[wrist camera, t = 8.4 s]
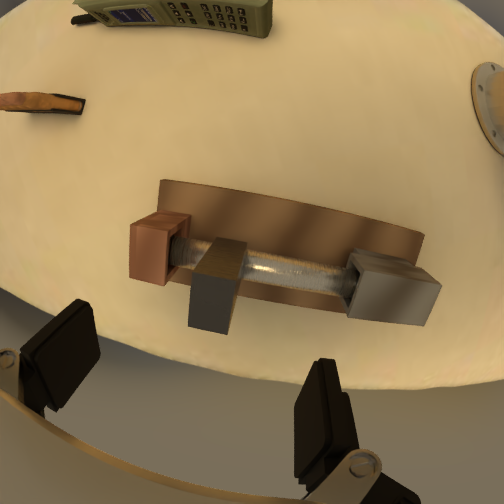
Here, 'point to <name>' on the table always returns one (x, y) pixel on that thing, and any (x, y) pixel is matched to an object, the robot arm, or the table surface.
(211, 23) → the handheld radio
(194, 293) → the tube
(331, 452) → the robot arm
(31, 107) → the ammunition clip
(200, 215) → the tube stand
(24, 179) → the table surface
